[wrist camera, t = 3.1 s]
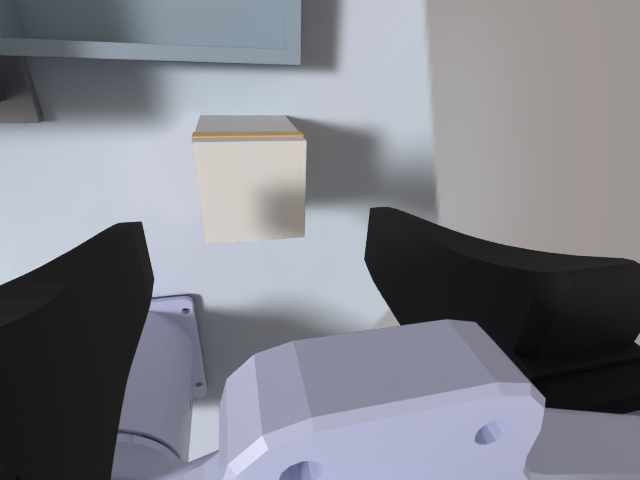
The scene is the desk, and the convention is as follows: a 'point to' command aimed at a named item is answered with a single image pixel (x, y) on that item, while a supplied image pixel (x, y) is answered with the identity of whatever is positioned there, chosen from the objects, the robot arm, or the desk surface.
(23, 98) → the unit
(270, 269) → the desk surface
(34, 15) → the tray
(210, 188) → the part block
